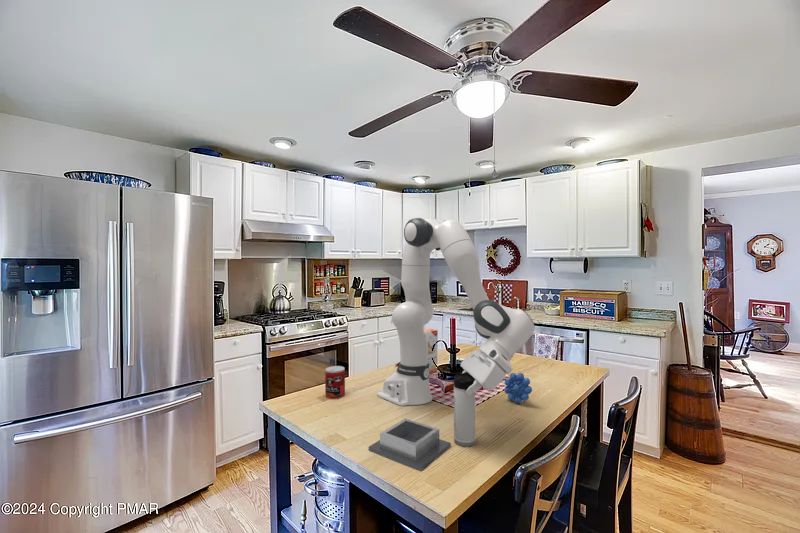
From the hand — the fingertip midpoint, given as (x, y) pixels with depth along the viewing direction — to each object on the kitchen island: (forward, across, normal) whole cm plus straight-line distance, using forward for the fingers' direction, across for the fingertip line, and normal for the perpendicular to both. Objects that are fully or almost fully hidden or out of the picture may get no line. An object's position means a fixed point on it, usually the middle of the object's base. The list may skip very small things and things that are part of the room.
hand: (462, 389), depth 111 cm
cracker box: (+10, -69, +13) cm, 71 cm away
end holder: (+23, +1, 0) cm, 23 cm away
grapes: (-11, -26, +33) cm, 44 cm away
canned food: (+39, -45, -16) cm, 62 cm away
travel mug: (+11, 0, +12) cm, 16 cm away
